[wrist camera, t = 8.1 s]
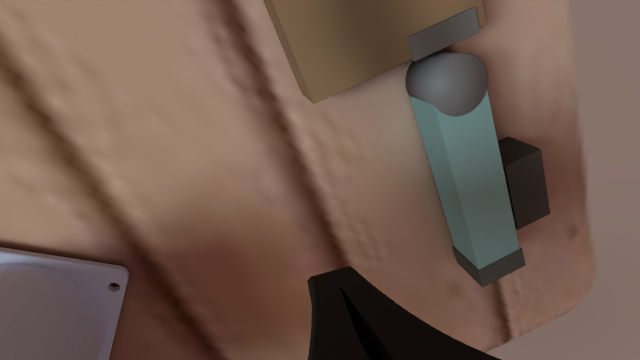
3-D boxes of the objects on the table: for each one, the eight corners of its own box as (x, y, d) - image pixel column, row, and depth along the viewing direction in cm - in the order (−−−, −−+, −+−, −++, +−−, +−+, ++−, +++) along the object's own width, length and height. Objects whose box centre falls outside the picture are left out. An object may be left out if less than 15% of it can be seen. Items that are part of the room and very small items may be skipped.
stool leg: (397, 64, 18) (424, 70, 16) (448, 40, 18) (482, 42, 16) (457, 262, 24) (484, 288, 21) (496, 242, 24) (527, 266, 21)
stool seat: (421, -340, 14) (463, -417, 11) (518, 196, 23) (552, 215, 21) (164, -241, 13) (151, -300, 11) (374, 267, 23) (392, 295, 20)
